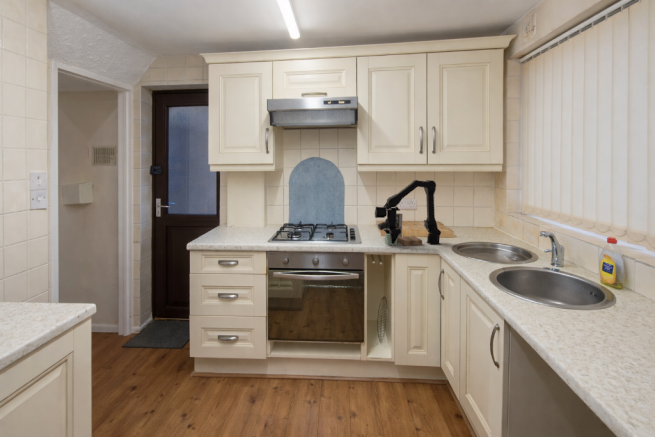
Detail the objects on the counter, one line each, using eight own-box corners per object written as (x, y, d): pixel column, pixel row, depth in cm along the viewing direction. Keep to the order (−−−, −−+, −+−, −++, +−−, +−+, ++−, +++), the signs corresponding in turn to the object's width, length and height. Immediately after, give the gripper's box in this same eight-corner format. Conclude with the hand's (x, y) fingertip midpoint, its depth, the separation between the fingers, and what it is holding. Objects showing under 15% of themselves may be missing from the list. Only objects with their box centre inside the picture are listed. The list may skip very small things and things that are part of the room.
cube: (393, 242, 226) (394, 233, 226) (397, 245, 221) (397, 235, 220) (384, 243, 226) (384, 233, 225) (387, 245, 220) (388, 235, 219)
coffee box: (402, 237, 243) (403, 213, 241) (398, 238, 238) (399, 214, 235) (389, 235, 248) (390, 212, 245) (386, 237, 243) (386, 213, 240)
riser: (414, 240, 232) (414, 236, 231) (421, 245, 220) (422, 240, 220) (396, 241, 230) (396, 236, 229) (403, 245, 218) (403, 241, 218)
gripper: (374, 215, 228) (374, 239, 231) (383, 220, 210) (383, 246, 213) (391, 215, 230) (390, 238, 232) (401, 220, 212) (400, 245, 214)
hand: (390, 242), depth 223 cm, fingers open, 7 cm apart
